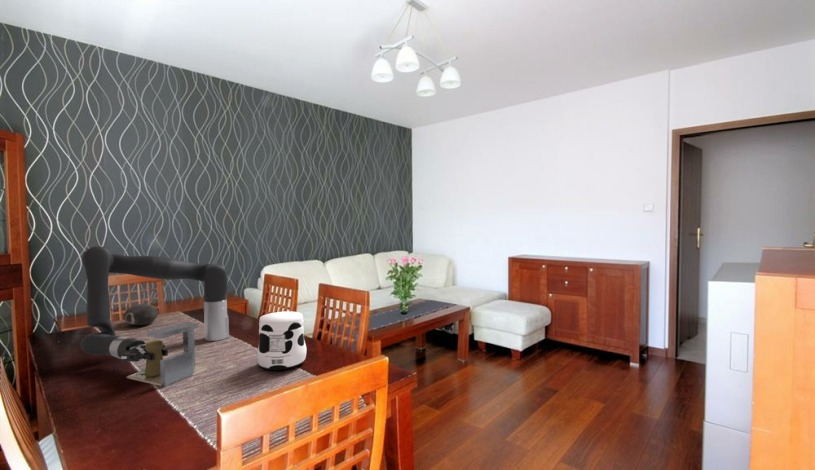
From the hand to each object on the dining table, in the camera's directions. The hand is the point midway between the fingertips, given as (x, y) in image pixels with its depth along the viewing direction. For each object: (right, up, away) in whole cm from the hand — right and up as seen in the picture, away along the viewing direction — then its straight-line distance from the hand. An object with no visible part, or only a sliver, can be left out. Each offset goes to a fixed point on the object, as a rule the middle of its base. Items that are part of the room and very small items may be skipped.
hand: (160, 355), depth 135 cm
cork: (-3, -7, +1) cm, 7 cm away
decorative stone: (-52, -5, +68) cm, 86 cm away
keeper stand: (+1, -7, +3) cm, 8 cm away
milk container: (+38, -7, +11) cm, 40 cm away
